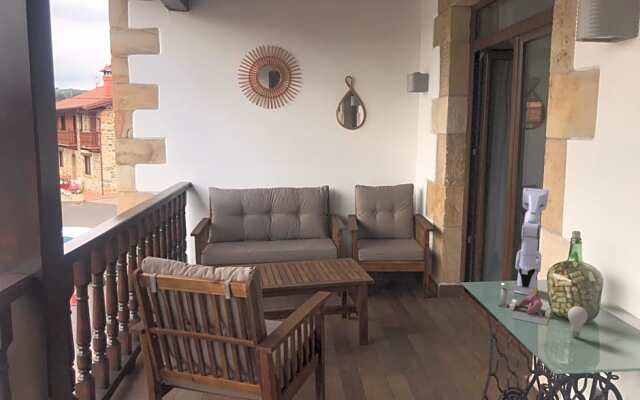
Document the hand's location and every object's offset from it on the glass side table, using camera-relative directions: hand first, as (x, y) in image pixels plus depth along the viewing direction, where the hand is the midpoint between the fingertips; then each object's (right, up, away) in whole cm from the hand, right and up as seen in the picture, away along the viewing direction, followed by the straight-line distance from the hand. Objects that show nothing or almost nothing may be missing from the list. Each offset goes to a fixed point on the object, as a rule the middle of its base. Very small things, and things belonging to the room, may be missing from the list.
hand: (525, 286), depth 204 cm
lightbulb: (+7, -13, -26) cm, 30 cm away
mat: (-2, -10, -11) cm, 15 cm away
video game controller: (0, -9, -4) cm, 9 cm away
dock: (-2, -8, -3) cm, 9 cm away
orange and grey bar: (-4, -1, -3) cm, 5 cm away
